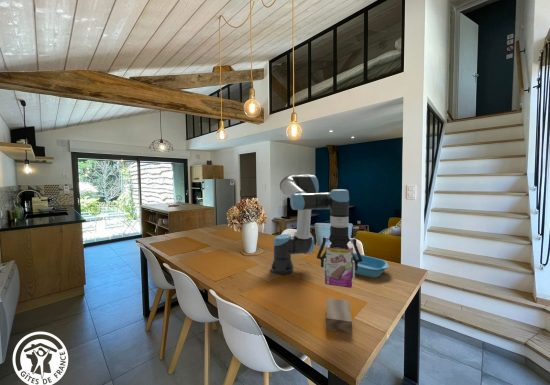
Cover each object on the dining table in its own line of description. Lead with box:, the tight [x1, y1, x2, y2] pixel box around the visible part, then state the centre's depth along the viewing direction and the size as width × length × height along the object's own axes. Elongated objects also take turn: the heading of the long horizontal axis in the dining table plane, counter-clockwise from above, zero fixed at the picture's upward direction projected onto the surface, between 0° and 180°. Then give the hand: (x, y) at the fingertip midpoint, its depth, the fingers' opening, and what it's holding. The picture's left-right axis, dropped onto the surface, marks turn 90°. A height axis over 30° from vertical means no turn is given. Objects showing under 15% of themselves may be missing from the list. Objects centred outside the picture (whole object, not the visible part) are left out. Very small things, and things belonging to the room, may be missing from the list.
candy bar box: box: [324, 244, 354, 289], centre depth 100 cm, size 11×5×16 cm, turn 71°
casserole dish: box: [353, 252, 390, 278], centre depth 156 cm, size 37×22×7 cm, turn 49°
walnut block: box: [325, 297, 353, 335], centre depth 101 cm, size 10×16×5 cm, turn 166°
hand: (338, 275), depth 100 cm, fingers closed on candy bar box, 11 cm apart
